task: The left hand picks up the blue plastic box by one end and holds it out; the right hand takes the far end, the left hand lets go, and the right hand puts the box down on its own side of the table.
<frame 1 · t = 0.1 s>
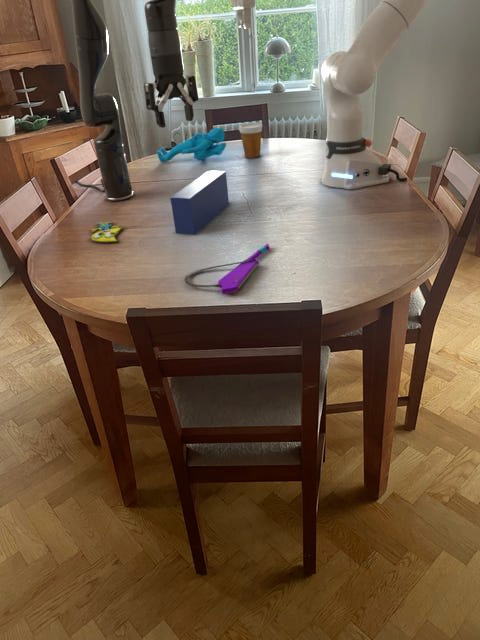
left hand: (176, 123, 123), 29 cm above the table, tool pointing down, fingers open, 8 cm apart
right hand: (244, 27, 136), 48 cm above the table, tool pointing down, fingers open, 8 cm apart
toy: (193, 160, 204), on the table
toy 2: (106, 233, 141), on the table
glass of beer: (252, 156, 202), on the table
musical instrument: (228, 271, 115), on the table
box: (203, 217, 146), on the table
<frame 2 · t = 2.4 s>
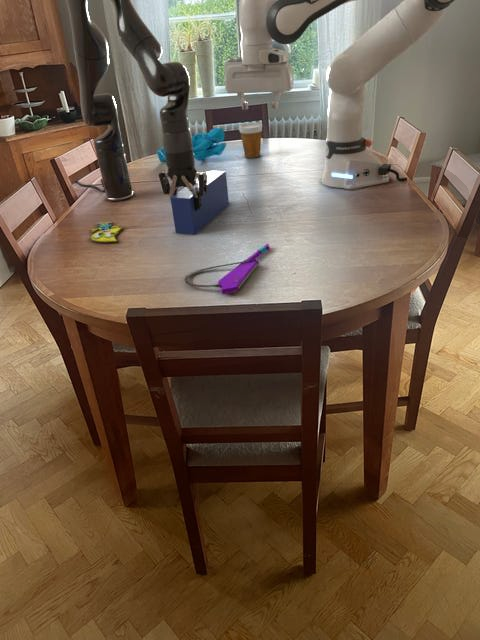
left hand: (187, 208, 136), 6 cm above the table, tool pointing down, fingers closed on box, 6 cm apart
right hand: (259, 108, 143), 27 cm above the table, tool pointing down, fingers open, 8 cm apart
box: (203, 217, 146), on the table, touching left hand
everything else where it was.
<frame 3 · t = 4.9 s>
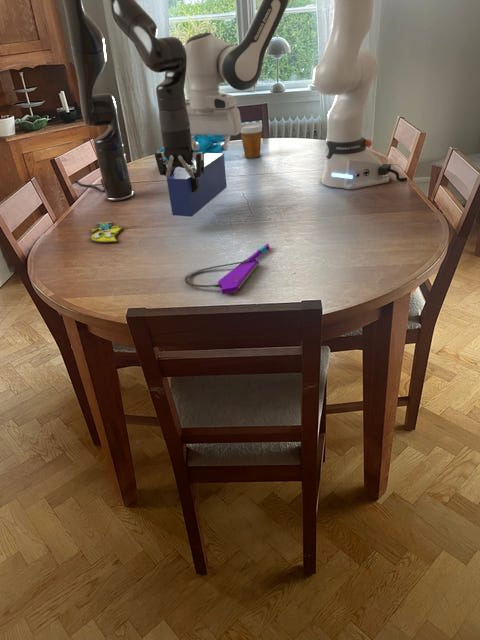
left hand: (184, 190, 133), 11 cm above the table, tool pointing down, fingers closed on box, 6 cm apart
right hand: (210, 149, 144), 18 cm above the table, tool pointing down, fingers open, 8 cm apart
box: (201, 200, 144), point 5 cm above the table, touching left hand
everything else where it was.
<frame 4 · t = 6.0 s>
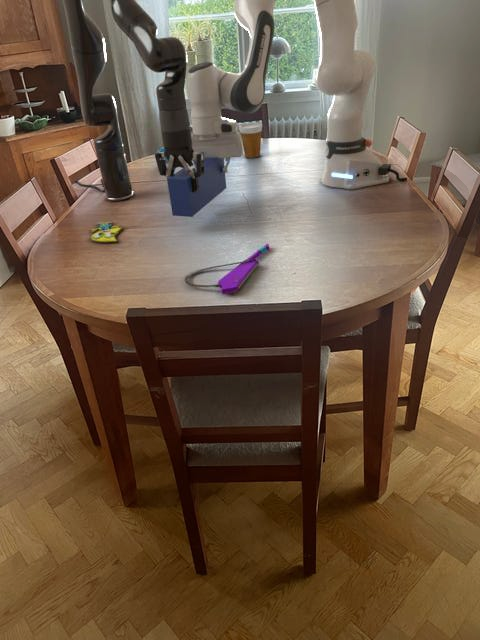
left hand: (184, 190, 133), 11 cm above the table, tool pointing down, fingers closed on box, 6 cm apart
right hand: (212, 173, 148), 11 cm above the table, tool pointing down, fingers closed on box, 7 cm apart
box: (201, 201, 143), point 5 cm above the table, touching right hand, left hand
everything else where it was.
when the left hand's fingers open (12 cm above the table, at t = 7.4 s): box moves 2 cm, held by the right hand.
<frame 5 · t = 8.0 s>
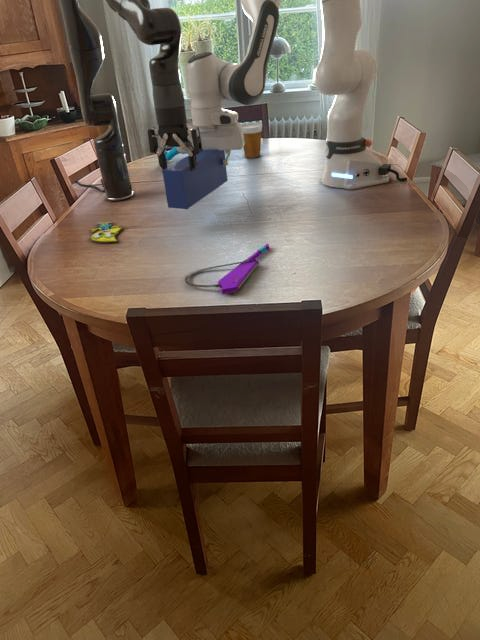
left hand: (178, 169, 128), 18 cm above the table, tool pointing down, fingers open, 8 cm apart
right hand: (212, 165, 146), 13 cm above the table, tool pointing down, fingers closed on box, 7 cm apart
box: (199, 193, 142), point 8 cm above the table, touching right hand
everything else where it was.
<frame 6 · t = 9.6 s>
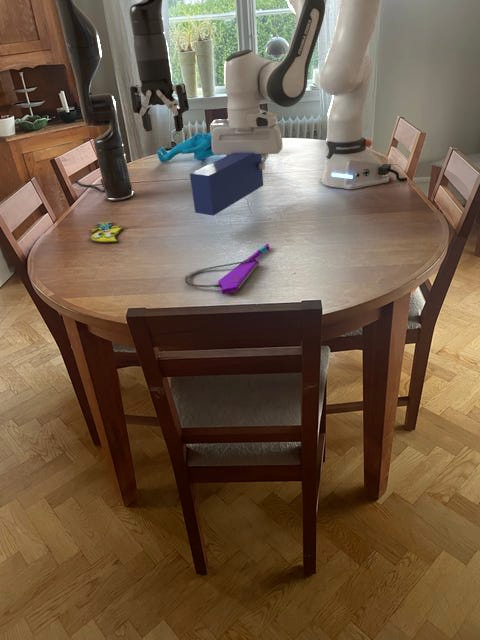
left hand: (164, 131, 119), 28 cm above the table, tool pointing down, fingers open, 8 cm apart
right hand: (248, 169, 139), 13 cm above the table, tool pointing down, fingers closed on box, 7 cm apart
box: (231, 198, 135), point 8 cm above the table, touching right hand
everything else where it was.
when the right hand's fingers open (6 cm above the table, at t = 13.4 s): box stays where it is, on the table.
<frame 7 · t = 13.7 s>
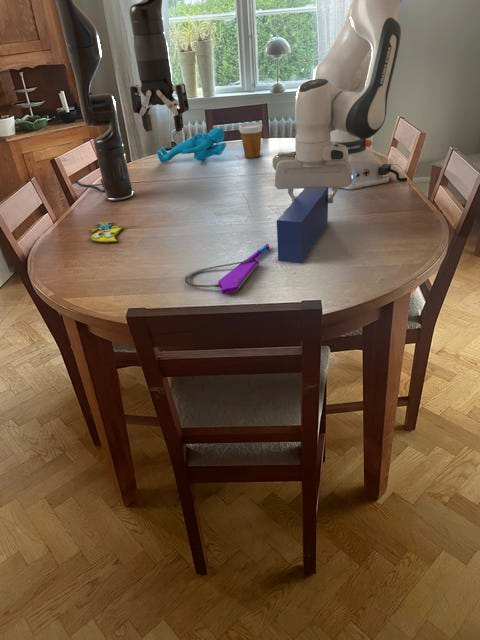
left hand: (164, 131, 119), 28 cm above the table, tool pointing down, fingers open, 8 cm apart
right hand: (312, 203, 130), 7 cm above the table, tool pointing down, fingers open, 8 cm apart
box: (304, 240, 126), on the table
everything else where it was.
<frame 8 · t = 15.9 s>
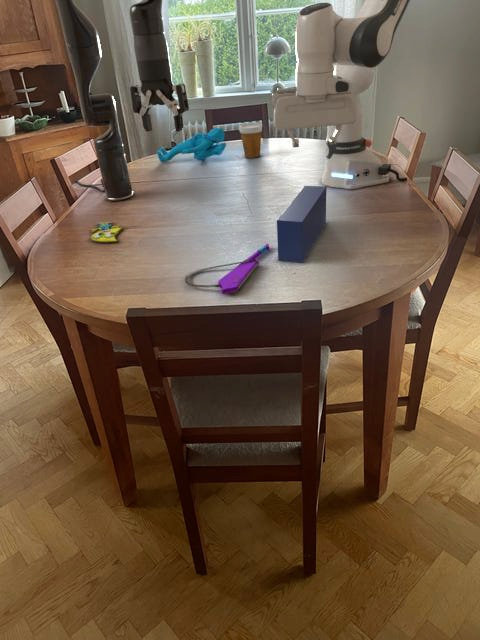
left hand: (164, 131, 119), 28 cm above the table, tool pointing down, fingers open, 8 cm apart
right hand: (314, 145, 121), 22 cm above the table, tool pointing down, fingers open, 8 cm apart
nothing on the table moved.
at the end: box inside the target area (9.5 cm from its centre), on the table; the left hand is holding nothing; the right hand is holding nothing; box at rest at the end (0.0 cm/s) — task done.
